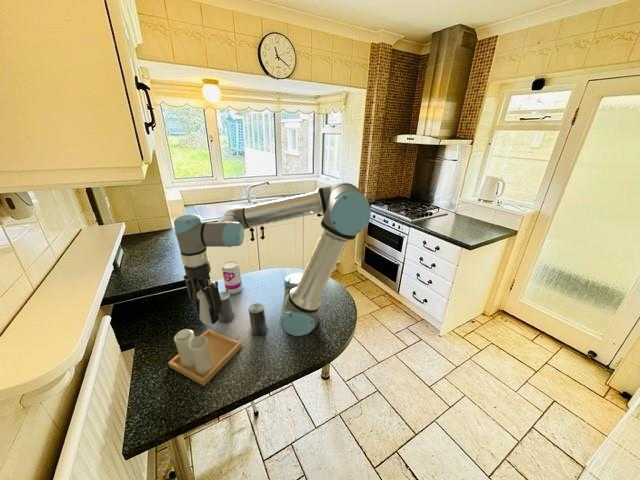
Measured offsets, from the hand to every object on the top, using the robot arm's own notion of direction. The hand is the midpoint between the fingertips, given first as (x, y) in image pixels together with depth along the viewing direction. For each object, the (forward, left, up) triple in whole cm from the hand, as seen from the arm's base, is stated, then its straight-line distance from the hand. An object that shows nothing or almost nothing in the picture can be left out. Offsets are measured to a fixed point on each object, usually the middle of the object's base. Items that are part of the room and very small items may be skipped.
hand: (209, 318), depth 92 cm
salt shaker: (0, 0, -1) cm, 1 cm away
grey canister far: (+9, -15, -15) cm, 23 cm away
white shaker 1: (+3, +8, -14) cm, 17 cm away
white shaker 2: (-4, +8, -14) cm, 17 cm away
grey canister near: (-9, -15, -15) cm, 23 cm away
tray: (0, +4, -15) cm, 15 cm away
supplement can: (+21, -33, -15) cm, 42 cm away
